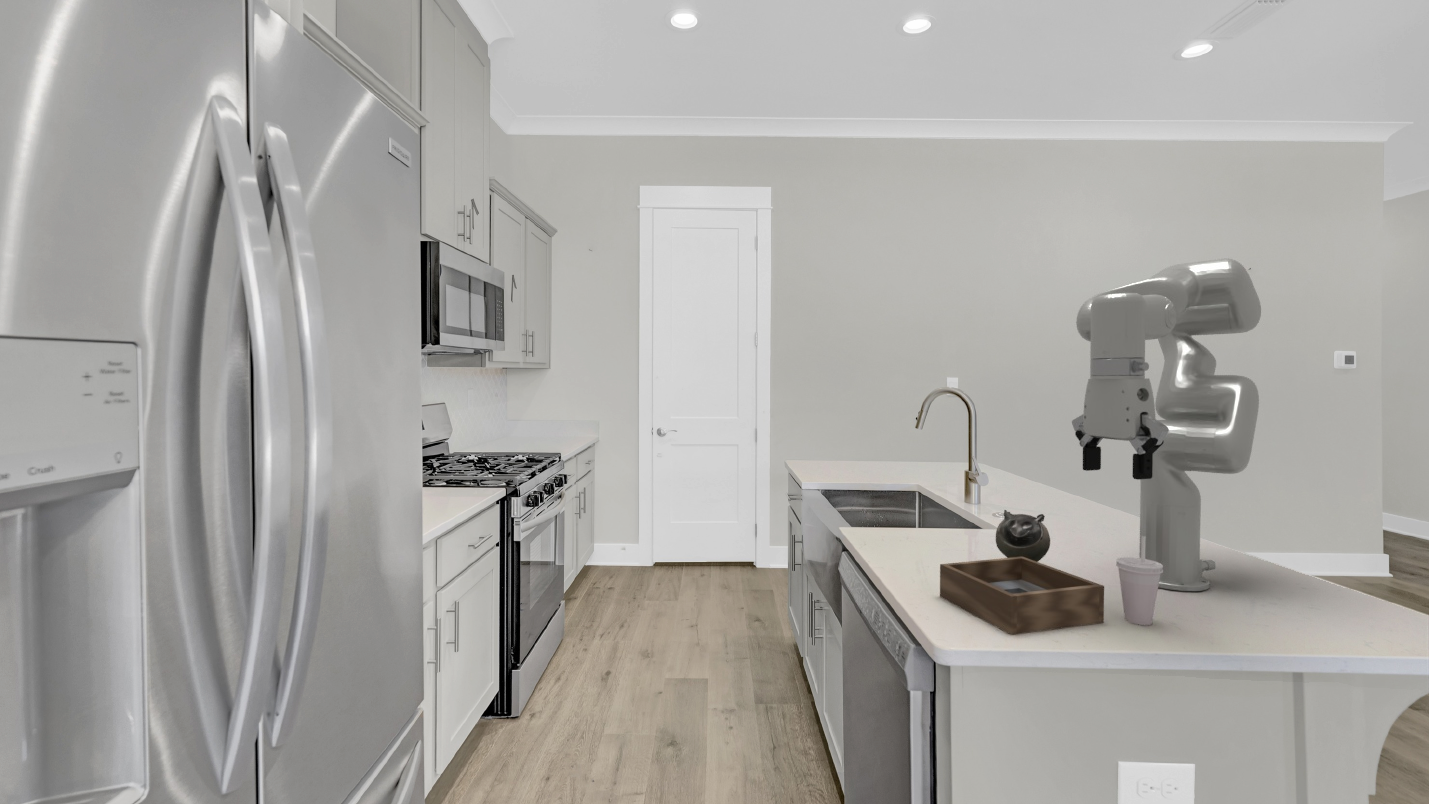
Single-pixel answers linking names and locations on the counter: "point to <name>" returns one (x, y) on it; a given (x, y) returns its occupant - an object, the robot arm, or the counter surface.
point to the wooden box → (1022, 594)
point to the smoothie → (1139, 586)
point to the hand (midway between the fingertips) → (1115, 474)
